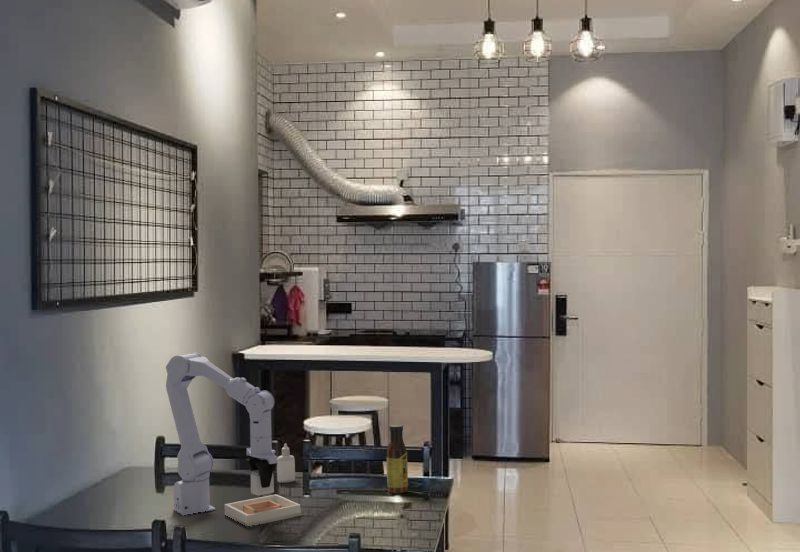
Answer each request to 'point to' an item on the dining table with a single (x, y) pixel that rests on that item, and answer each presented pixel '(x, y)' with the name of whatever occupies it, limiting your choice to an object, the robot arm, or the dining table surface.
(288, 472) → the eye dropper bottle
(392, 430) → the sauce bottle
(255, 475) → the grey plug
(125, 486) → the dining table surface
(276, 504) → the walled box
